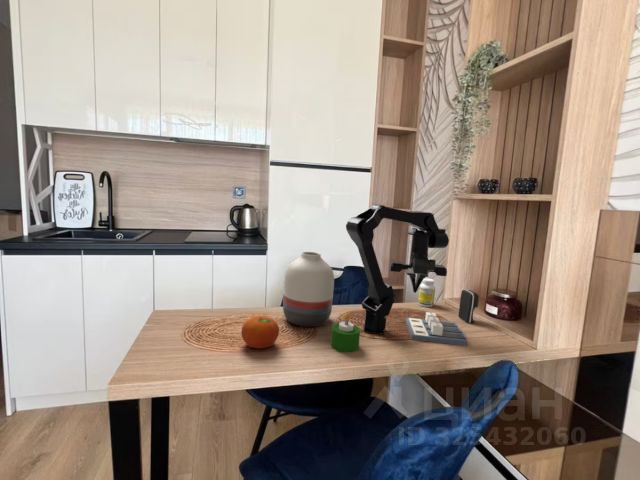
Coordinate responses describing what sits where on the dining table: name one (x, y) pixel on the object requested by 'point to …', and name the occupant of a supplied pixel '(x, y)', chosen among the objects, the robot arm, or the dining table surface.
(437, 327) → the tab near
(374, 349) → the dining table surface
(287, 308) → the vase
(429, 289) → the pill bottle
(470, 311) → the dark grey upright slab
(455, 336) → the switch bank
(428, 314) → the tab far
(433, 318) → the tab mid
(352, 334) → the candle
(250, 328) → the fruit
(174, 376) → the dining table surface
